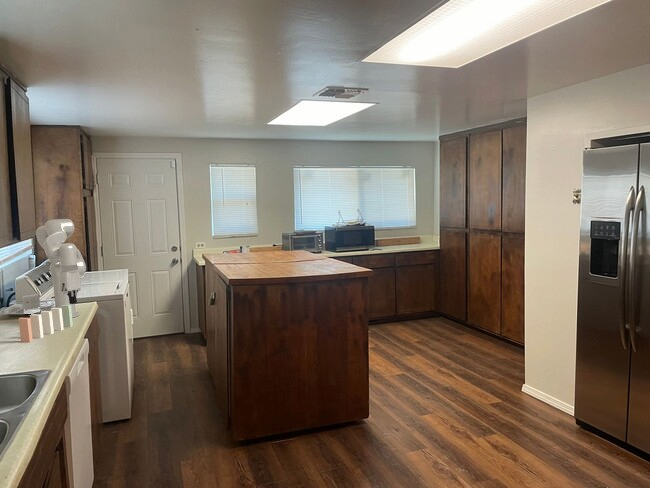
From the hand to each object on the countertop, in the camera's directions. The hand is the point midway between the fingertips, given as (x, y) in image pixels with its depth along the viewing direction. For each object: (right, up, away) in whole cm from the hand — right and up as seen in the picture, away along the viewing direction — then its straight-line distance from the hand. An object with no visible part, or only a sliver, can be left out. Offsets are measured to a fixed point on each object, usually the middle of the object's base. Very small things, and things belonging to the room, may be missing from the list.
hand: (73, 303), depth 250 cm
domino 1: (-7, -14, -27) cm, 31 cm away
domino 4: (-3, -12, -9) cm, 15 cm away
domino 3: (-4, -13, -15) cm, 20 cm away
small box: (-38, -9, +28) cm, 48 cm away
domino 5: (-1, -11, -3) cm, 12 cm away
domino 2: (-6, -13, -21) cm, 26 cm away
